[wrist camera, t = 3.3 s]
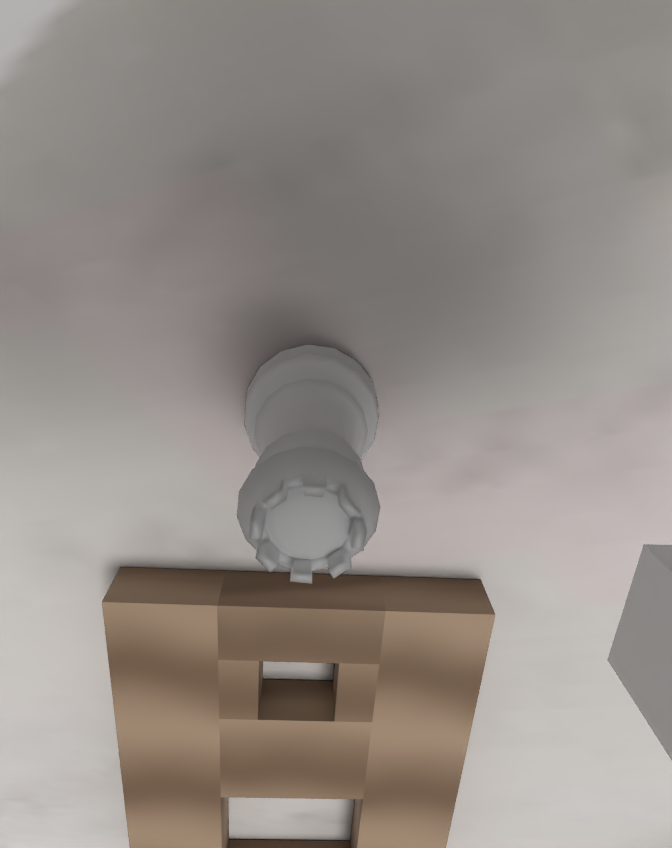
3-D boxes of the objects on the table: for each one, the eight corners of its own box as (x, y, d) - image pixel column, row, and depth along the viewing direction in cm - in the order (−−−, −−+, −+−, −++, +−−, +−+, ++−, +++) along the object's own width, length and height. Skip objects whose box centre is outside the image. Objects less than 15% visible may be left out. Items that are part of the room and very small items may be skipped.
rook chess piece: (284, 481, 21) (265, 645, 13) (222, 376, 19) (160, 494, 12) (397, 431, 20) (444, 573, 13) (342, 317, 18) (358, 403, 11)
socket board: (120, 567, 22) (101, 601, 20) (480, 579, 22) (495, 614, 21) (148, 864, 29) (136, 911, 27) (425, 866, 29) (431, 912, 27)
